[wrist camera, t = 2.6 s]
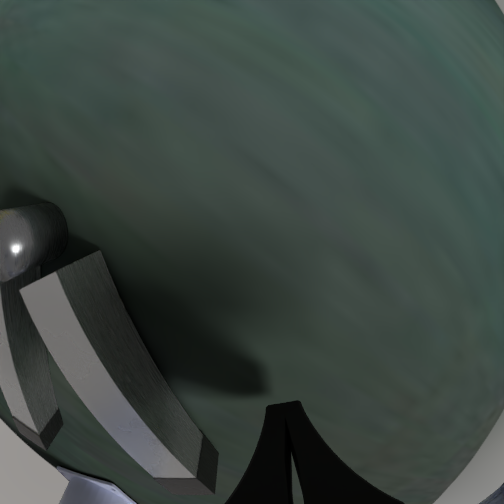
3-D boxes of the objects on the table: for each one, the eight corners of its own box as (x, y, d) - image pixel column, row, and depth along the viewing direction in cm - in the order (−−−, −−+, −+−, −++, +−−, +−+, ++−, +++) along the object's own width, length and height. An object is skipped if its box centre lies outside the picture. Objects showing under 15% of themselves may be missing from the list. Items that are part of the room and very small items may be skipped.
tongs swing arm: (62, 267, 10) (17, 290, 7) (101, 249, 10) (55, 271, 6) (181, 455, 12) (173, 494, 9) (218, 452, 12) (214, 494, 9)
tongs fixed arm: (16, 192, 9) (-32, 198, 6) (71, 209, 9) (16, 219, 6) (38, 409, 12) (18, 435, 9) (81, 434, 13) (64, 465, 9)
